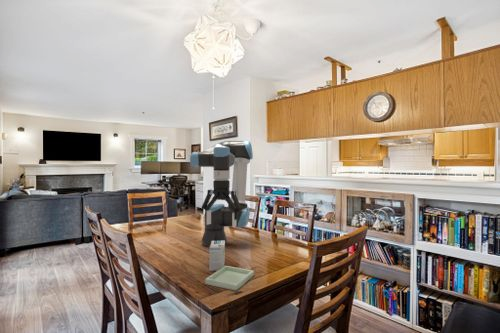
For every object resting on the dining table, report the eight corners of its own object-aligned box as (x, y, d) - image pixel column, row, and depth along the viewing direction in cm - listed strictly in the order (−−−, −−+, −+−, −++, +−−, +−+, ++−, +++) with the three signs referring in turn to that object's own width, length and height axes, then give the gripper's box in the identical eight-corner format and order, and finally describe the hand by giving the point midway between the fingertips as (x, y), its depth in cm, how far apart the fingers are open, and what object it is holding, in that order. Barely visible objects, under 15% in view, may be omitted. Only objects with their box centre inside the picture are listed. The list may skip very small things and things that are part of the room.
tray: (205, 283, 109) (205, 278, 109) (225, 269, 124) (225, 265, 124) (236, 290, 103) (236, 285, 103) (254, 275, 118) (254, 270, 118)
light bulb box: (211, 262, 133) (211, 240, 133) (225, 262, 134) (225, 240, 134) (208, 270, 123) (208, 246, 123) (224, 270, 123) (224, 246, 123)
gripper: (194, 179, 130) (194, 224, 130) (242, 180, 120) (242, 229, 120) (203, 178, 137) (203, 221, 137) (249, 180, 127) (249, 226, 127)
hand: (221, 225), depth 128 cm, fingers open, 13 cm apart
